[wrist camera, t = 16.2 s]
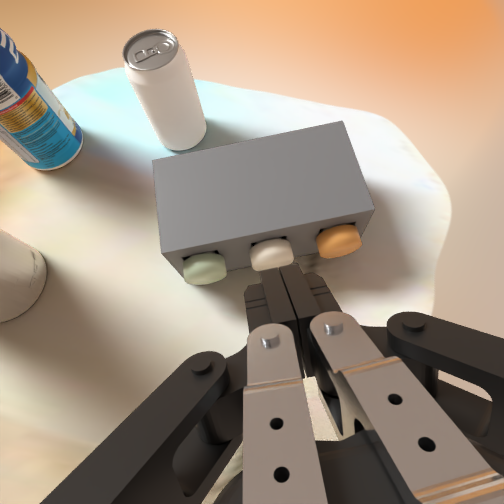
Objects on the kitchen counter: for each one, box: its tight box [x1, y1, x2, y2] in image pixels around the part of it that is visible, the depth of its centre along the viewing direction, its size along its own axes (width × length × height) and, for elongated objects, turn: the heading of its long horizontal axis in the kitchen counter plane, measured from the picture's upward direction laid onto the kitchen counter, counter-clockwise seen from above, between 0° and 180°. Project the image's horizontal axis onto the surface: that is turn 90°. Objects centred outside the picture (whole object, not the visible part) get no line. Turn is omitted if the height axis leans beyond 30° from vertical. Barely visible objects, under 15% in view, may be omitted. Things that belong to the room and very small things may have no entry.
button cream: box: [249, 237, 294, 271], centre depth 34 cm, size 4×5×4 cm
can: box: [122, 29, 206, 151], centre depth 40 cm, size 6×6×12 cm
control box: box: [152, 121, 375, 278], centre depth 36 cm, size 19×10×8 cm, turn 101°
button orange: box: [316, 224, 362, 258], centre depth 34 cm, size 4×5×4 cm
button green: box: [183, 251, 227, 285], centre depth 34 cm, size 4×5×4 cm
